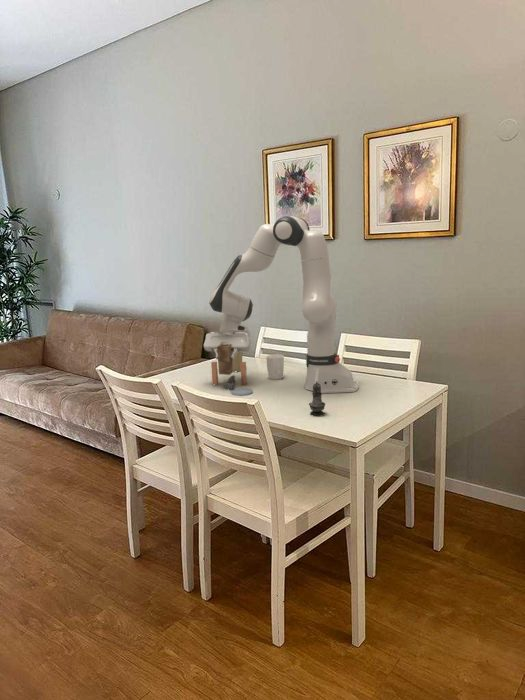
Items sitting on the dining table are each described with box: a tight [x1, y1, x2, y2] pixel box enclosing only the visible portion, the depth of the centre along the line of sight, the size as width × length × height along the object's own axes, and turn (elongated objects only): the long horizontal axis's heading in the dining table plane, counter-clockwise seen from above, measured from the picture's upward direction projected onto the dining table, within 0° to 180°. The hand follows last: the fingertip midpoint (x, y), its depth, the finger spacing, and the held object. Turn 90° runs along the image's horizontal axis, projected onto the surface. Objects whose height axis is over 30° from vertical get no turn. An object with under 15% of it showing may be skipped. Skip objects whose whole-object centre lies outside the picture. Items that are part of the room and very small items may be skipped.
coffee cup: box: [232, 351, 243, 373], centre depth 252 cm, size 9×9×12 cm
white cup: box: [265, 353, 285, 380], centre depth 235 cm, size 8×8×10 cm
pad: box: [230, 387, 254, 397], centre depth 215 cm, size 9×9×1 cm
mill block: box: [217, 342, 234, 376], centre depth 220 cm, size 5×5×13 cm
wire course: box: [210, 361, 248, 391], centre depth 225 cm, size 15×15×10 cm
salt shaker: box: [308, 381, 326, 417], centre depth 184 cm, size 6×6×12 cm
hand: (224, 358), depth 220 cm, fingers closed on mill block, 5 cm apart
